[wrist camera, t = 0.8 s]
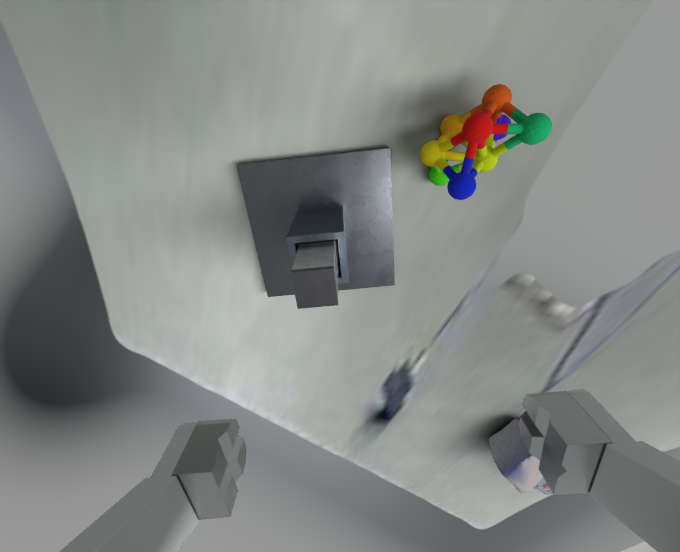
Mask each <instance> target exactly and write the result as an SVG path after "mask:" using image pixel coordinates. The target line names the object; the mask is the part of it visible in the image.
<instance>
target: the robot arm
mask: <svg viewBox="0 0 680 552" xmlns="http://www.w3.org/2000/svg"><path fill="white" fill-rule="evenodd" d="M522 405H523V407H524V408H525V410H526V411H525V412H524V413H523V414H522V415H521V416H520V422H519V428H520V433H521V437H522V440H523V442H524V445H525V446H526V448H527V450H528V452H529V453H530V454H531V455H533V456H534V457H536V458H537V459H539V460H540V463H539V471H540V472H541V474H542V476H543V477H544V479H545V481H546V482H547V484H548V486H549V488H550V489H551V491H552V493H553V494H554V495H559V494H585V493H590V494H589V496H591V497H592V498H593V499H594V500H595V501H597V502H598V503H599V504H600V505H601V506H603V507H604V508H605V509H606V510H608V511H609V512H610V513H611V514H612V515H614V516H615V517H616V518H617V519H619V520H620V521H621V522H622V523H624V524H625V525H626V526H627V527H628V528H630V529H631V530H632V531H633V532H635V533H636V534H637V535H638V536H639V537H640V538H642V539H643V540H644V541H645V542H647V543H648V544H649V545H650V546H651V547H653V548H654V549H655V550H656V551H658V552H680V461H678V460H677V459H674V458H673V457H671V456H669V455H667V454H665V453H663V452H662V451H660V450H658V449H656V448H654V447H652V446H650V445H648V444H646V443H645V442H643V441H639V442H636V441H635V440H634V439H633V438H632V437H631V436H630V435H629V434H628V433H627V432H626V431H625V429H624V428H623V427H622V426H621V425H620V424H619V423H618V422H617V421H616V420H615V419H614V418H613V417H612V416H611V415H610V414H609V413H608V412H607V411H606V410H605V408H604V407H603V406H602V405H601V404H600V403H599V402H598V401H597V400H596V399H595V398H594V397H593V396H592V395H591V394H590V393H589V392H588V391H586V390H584V389H583V390H572V391H564V392H562V391H558V392H548V393H537V394H527V395H526V396H525V397H524V398H523V403H522ZM239 428H240V427H239V425H238V422H237V420H236V419H224V420H205V421H192V422H183V423H182V424H181V425H180V426H178V428H177V430H176V431H175V433H174V435H173V437H172V439H171V441H170V443H169V444H168V446H167V448H166V450H165V452H164V454H163V455H162V457H161V459H160V461H159V463H158V465H157V467H156V469H155V470H154V472H153V474H152V476H151V478H145V479H144V480H142V481H141V482H140V483H139V484H138V485H137V486H136V487H134V488H133V489H132V490H131V491H130V492H128V493H127V494H126V495H125V496H124V497H123V498H121V499H120V500H119V501H118V502H117V503H116V504H114V505H113V506H112V507H111V508H110V509H109V510H107V511H106V512H105V513H104V514H103V515H102V516H100V517H99V518H98V519H97V520H96V521H95V522H94V523H92V524H91V525H90V526H89V527H88V528H86V529H85V530H84V531H83V532H82V533H81V534H79V535H78V536H77V537H76V538H75V539H74V540H72V541H71V542H70V543H69V544H68V545H67V546H65V547H64V548H63V549H62V550H61V551H60V552H176V551H177V550H178V548H179V547H180V546H181V545H182V543H183V542H184V541H185V539H186V538H187V537H188V536H189V534H190V533H191V532H192V531H193V529H194V528H195V527H196V525H197V524H198V523H199V520H202V519H212V518H222V517H231V513H232V510H233V506H234V503H235V499H236V496H237V492H238V489H237V486H236V484H235V482H236V481H237V480H238V479H239V477H240V476H241V475H242V474H243V470H244V467H245V460H246V446H245V442H244V439H243V438H242V437H241V436H239V435H238V431H239Z"/></svg>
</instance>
